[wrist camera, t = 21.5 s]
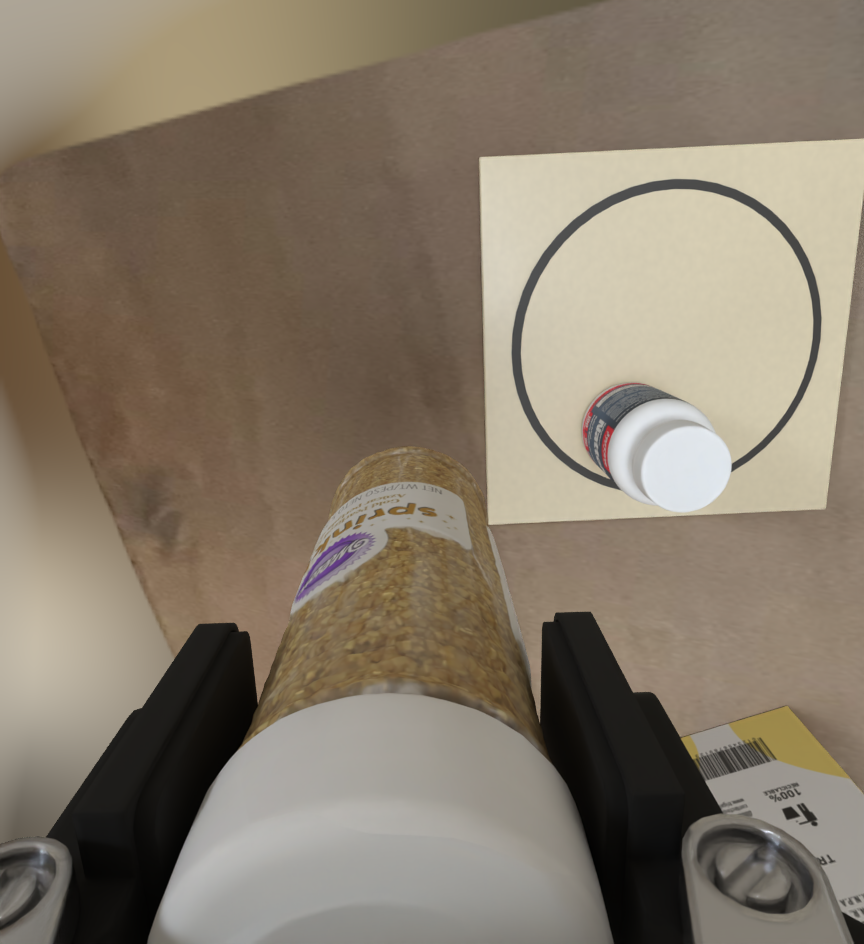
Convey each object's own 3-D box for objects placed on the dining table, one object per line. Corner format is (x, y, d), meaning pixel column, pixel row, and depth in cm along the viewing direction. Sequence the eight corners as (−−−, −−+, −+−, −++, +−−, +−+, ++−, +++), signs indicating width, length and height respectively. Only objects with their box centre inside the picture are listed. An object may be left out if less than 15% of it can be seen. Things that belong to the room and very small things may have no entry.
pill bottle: (566, 403, 37) (609, 437, 28) (655, 366, 36) (726, 389, 28) (598, 486, 38) (648, 543, 29) (684, 451, 37) (761, 499, 29)
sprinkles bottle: (391, 410, 18) (315, 729, 5) (520, 505, 19) (738, 990, 6) (298, 535, 19) (31, 1072, 6) (424, 620, 20) (429, 1254, 7)
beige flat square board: (478, 159, 34) (479, 156, 33) (863, 140, 34) (873, 136, 33) (487, 521, 39) (488, 526, 39) (820, 506, 39) (828, 510, 39)
